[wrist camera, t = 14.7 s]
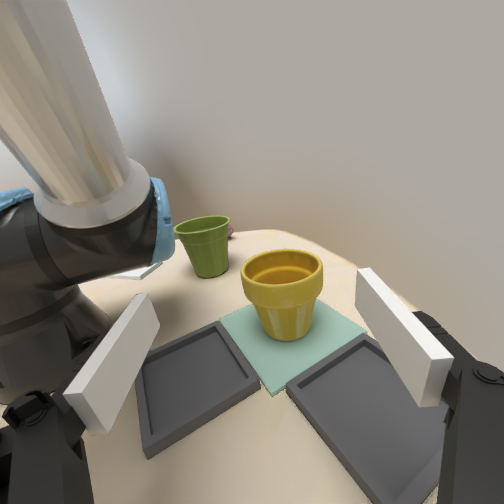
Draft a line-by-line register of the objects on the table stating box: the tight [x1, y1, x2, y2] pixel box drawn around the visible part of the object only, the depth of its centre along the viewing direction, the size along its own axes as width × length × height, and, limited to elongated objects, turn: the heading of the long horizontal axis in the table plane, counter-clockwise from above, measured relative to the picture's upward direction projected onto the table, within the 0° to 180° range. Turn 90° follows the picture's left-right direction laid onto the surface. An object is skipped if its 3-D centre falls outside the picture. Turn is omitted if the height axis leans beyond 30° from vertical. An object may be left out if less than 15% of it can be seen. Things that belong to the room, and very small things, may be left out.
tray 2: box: [285, 332, 449, 504], centre depth 23 cm, size 12×12×2 cm
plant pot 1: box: [173, 216, 230, 278], centre depth 52 cm, size 12×12×11 cm
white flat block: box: [104, 262, 163, 280], centre depth 60 cm, size 2×8×12 cm
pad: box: [219, 299, 367, 397], centre depth 34 cm, size 15×15×1 cm
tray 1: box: [135, 321, 261, 459], centre depth 29 cm, size 12×12×2 cm
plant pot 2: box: [240, 249, 323, 341], centre depth 32 cm, size 10×10×10 cm
